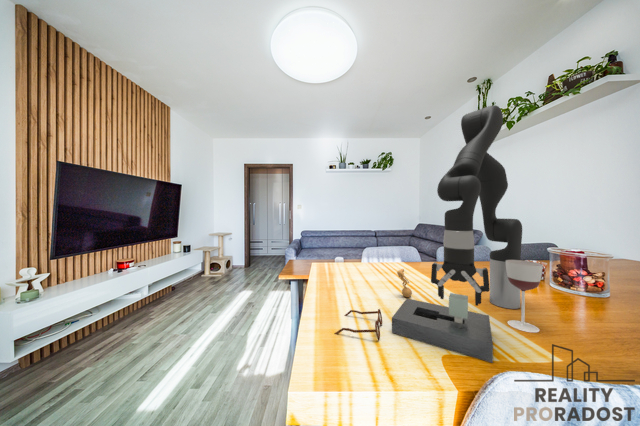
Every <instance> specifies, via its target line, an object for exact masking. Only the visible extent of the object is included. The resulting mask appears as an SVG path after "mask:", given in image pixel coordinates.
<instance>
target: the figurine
mask: <svg viewBox="0 0 640 426" xmlns="http://www.w3.org/2000/svg"><path fill="white" fill-rule="evenodd" d="M404 272H405V269H404V268H402V269H399V270H397V272H396V273H397V276H398V278H399V279H401V281H402V286H403V288H402V289H401V294H402V296H403V297H405V298H410V297H411V296H412V295H413V292H412V290H411V288H410V287H407V286H406V285H408V284H410V281H409V280H408V279H407V277H406V276H405V273H404Z"/></svg>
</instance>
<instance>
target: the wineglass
mask: <svg viewBox="0 0 640 426" xmlns="http://www.w3.org/2000/svg"><path fill="white" fill-rule="evenodd" d="M506 271H507V276H508V280H509V282H510V283H511V284H512V285H514V286H515V287H517V288H519V289H520V292H521V302H520V309H521V313H520V315H521V320H515V319H513V320H511V319H510V320H508V321H507V324H508V325H509V326H510V327H512V328H514V329H515V330H520V331H523V332H527V333H539V332H540V328H539V327H537V326H536V325H534V324H531V323H529V322H526V320H525V319H526V318H525V317H526V314H525V312H526V309H525V308H526V307H525V306H526V300H525V299H526V292H527V291H531V290H535V289H537V288H538V287H539V285H540V283H541V280H542V276H543V264H542V263H539V262H534V261H530V260H529V261H528V260H522V259H521V260H506Z"/></svg>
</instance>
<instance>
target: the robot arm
mask: <svg viewBox="0 0 640 426" xmlns="http://www.w3.org/2000/svg"><path fill="white" fill-rule="evenodd" d="M503 123H504V115H503V112H502V110H501V108H500V107H499V106H498V105H489V106H486V107H482V108H480V109H477V110H474V111H471V112H468V113H466V114H464V115H463V116H462V117H461V121H460V128H461V132H462V137H463V139H464V141H465V145H464V146H463V147H462V148H461V150H459V152H458V154H457V156H456V158H455V161H454V163H453V166H451V168H450V169H449V170H448V171H446V173H444V175H443V176H442V178H441V179H440V180H439V182H438V185H437V190H436V191H437V196H438V197H439V199H440V200H442V201H443V202H462V203H461V205H460V206H459V207H457V208H454V209H449V210H446V212H445V213H444V234H443V242H442V243H443V263H442V264H440V263H437V262H433V263H432V264H431V276H430V282H431V283H432V284H433V285H436V286H437V295H438V297H440V300H444V298H445V285H444V284H445V283H447V282H448V281H449V279H450V280H452V281H454V282H458V281H459V282H460V283H461V282H462V283H466V282H468V283H469V285H470V286H471V287H472V288H473V289H474V290H475V291H474V295H475V296H474V304H475V305H474V306H479V305H481V304H482V293H484V292H486V293H488V292H489V302H490V303H491V304H492V305H494V306H497V307H500V308H503V309H508V310H511V309H512V310H517V309H521V290H520V289H519V288H517V287H515V286H514V285H512V284H511V283H510V282H509V280H508V276H507V271H506V260H522V259H521V255H522V241H523V239H522V238H523V224H522V223H521V221H520V220H519V219H518V218H517V219H516V218H498V217H497V215H496V210H497V207H498V205H499V203H500V202H501V200H502V198H503V197H504V196H505V194H506V193H507V190H508V188H509V187H508V186H509V184H508V178H507V171H506V169H505V167H504V165H502V164H501V162H499V161H498V160H497V159H495V157H493V156H492V155H491V154H489V153H488V151H489V149H490V147H491V146H492V144H493V143H494V141H495V139H496V138H497V136H498V134H499V133H500V132H501V129H502V128H503ZM478 199H479V202H480V207H481V213H482V220H483V228H484V229H483V230H484V234H485V236H486V239H487V240H489V241H490V242H499V243H507V244H506V247H504V248H502V249H501V248H500V249H496V250H492V251H490V252H489V270H488V268H487V267H482V268H477V267H476V265H475V236H474V213H475V209H476V205H477V202H478ZM440 269H442V270H443V272H444V273H445V274H444V275H443V276H442V277H441V278H440V279H437V277H438V276H437V274H438V272H440ZM477 273H478V274H479V277H481V278H482V280H483V282H482V283H483V285H479V283H478V282H477V281H476V279H475V278H474V276H475V275H476V274H477Z"/></svg>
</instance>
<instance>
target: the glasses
mask: <svg viewBox="0 0 640 426" xmlns="http://www.w3.org/2000/svg"><path fill="white" fill-rule="evenodd" d="M351 313H356V314H359V315H371V314H372V315H374V314H377V320H375V322H374V326H375V328H374V329H352V328H346V327H342V328H340V329H339V330H338V331H335V332H334V335H339V334H340V333H341V332H343V331H347V332H351V333H354V334H355V333H356V334H358V333H375V335H376V339H377V340H380V339H381V330H380V326H383V317H382V311H381V309H380V308H379V309H377V311H376V310H375V311H374V310H373V311H359V310H353V309H350V310H349V311H348V312H347V313H346V314H344V316H345V317H347V316H349V314H351Z"/></svg>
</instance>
